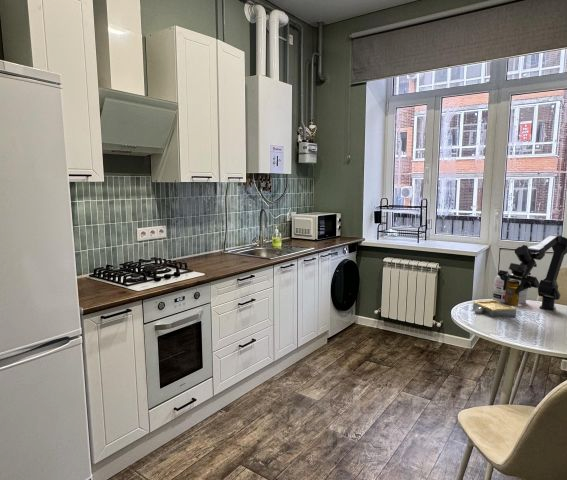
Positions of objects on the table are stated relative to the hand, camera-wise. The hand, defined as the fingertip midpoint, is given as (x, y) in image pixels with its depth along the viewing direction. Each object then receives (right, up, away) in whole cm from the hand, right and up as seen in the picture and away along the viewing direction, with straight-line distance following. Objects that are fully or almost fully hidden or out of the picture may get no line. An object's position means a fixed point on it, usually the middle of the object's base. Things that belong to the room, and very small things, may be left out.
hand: (509, 291), depth 197 cm
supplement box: (+20, -10, +32) cm, 39 cm away
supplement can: (+11, -10, +28) cm, 31 cm away
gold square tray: (-5, -12, +9) cm, 16 cm away
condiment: (+1, -7, +2) cm, 7 cm away
